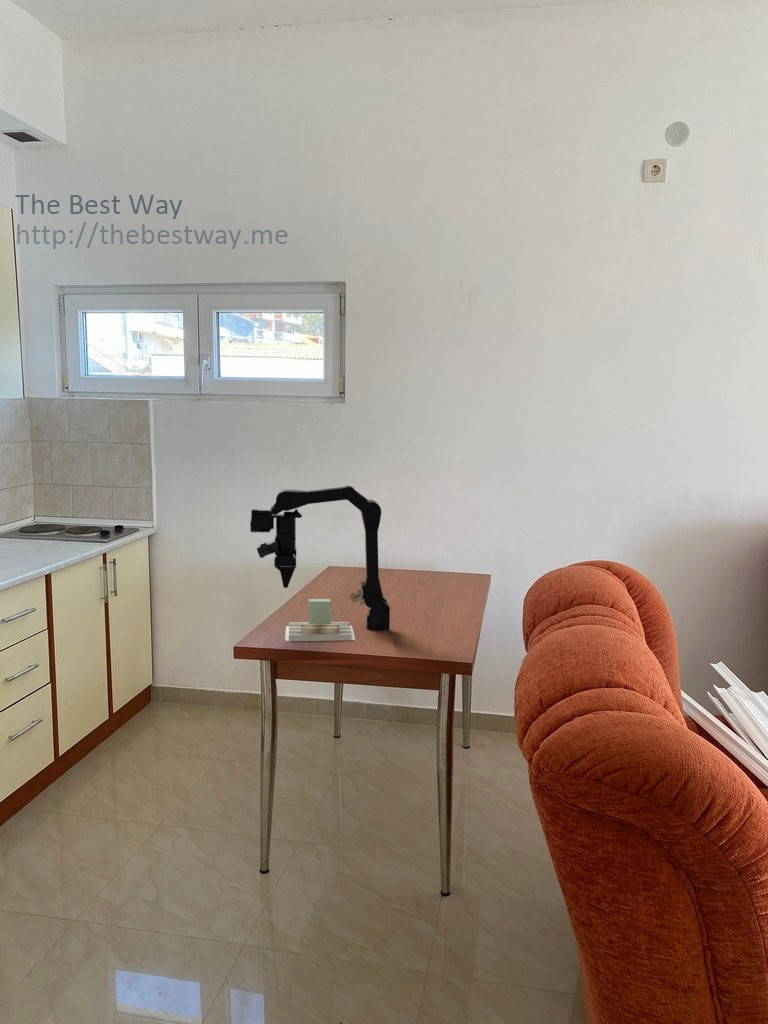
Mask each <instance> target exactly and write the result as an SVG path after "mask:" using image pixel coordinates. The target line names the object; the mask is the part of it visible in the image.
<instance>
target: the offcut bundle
mask: <svg viewBox="0 0 768 1024" xmlns="http://www.w3.org/2000/svg"><path fill="white" fill-rule="evenodd" d="M301 634H339V624H309V625H301Z"/></svg>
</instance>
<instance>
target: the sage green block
mask: <svg viewBox="0 0 768 1024" xmlns="http://www.w3.org/2000/svg"><path fill="white" fill-rule="evenodd" d="M331 603H332V601H331V598H313V599H312V598H308V622H309V624H331V622H332V620H331V613H332V612H331V611H332V610H331V609H332V604H331Z"/></svg>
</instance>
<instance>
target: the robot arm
mask: <svg viewBox="0 0 768 1024" xmlns="http://www.w3.org/2000/svg"><path fill="white" fill-rule="evenodd" d="M339 501H348V502H349V503H351V504H352V505H353V506H354V507H355V508H356V509H358V510H359V511H360V514H361V519H362V523H363V524H362V525H363V528H364V538H365V539H364V541H365V542H364V543H365V544H364V545H365V546H364V548H365V550H364V552H365V579H364V581H360V582H359V583H360V588H361V593H360V594H361V598H362V599H364V602H363V603H364V605H366V607H367V608H369V609H368V611H367V612H368V613H367V614H366V615H365V618H366V621H365V623H366V624H365V627H366V630H373V631H386V630H387V633H388V634H391V629H390V628H391V627H390V619H391V615H390V614H391V613H390V611H391V607H390V604H389V602H388V600H387V599H386V598H385V597H384V596H383V595H384V594H383V595H382V593H383V591H382V587H381V586H382V585H381V581H380V576H379V572H380V571H379V536H378V535H379V529H380V528H379V527H380V522H381V517H382V508H381V506H380V504H379V503H378V502H377V500H376V501H375V500H373V499H368V498H367V497H365V496H364V495H362V494H361V493H360V492H358V491H357V490H356V489H355V488H354V487H353V486H351V485H344V486H338V487H332V488H331V487H330V488H322V489H321V488H319V489H312V490H302V489H301V490H300V489H288V488H286V489H282V490H280V491H279V492H278V493H277V495H276V498H275V503H274V504H273V505H271V507H270V509H257V508H256V509H255V508H252V509H251V514H250V515H251V516H250V533H271V531H272V530H274V529H275V536H274V539H272V540H270V541H267V542H264V543H260V544H258V545H257V546H256V551H257V554H258V556H259V558H260V559H263V558H265V557H266V556H269V555H272V554H274V556H275V557H274V559H273V561H274V564H273V565H274V568H275V569H277V570H278V571H279V572H280V576H281V582H282V585H283V586H282V587H283V588H284V589H287V588H289V584H290V582H291V579H292V577H293V575H294V573H295V570H296V569H297V568H296V567H297V548H296V547H297V546H296V545H297V544H296V543H297V542H296V541H297V540H296V538H297V536H296V534H297V533H296V530H297V529H296V527H297V525H296V524H297V522H296V519H301V518H302V517H303V514H302V513H301V512H299V510H298V508H301V507H303V506H306V505H311V504H320V503H330V502H339ZM290 510H291V511H290ZM292 510H293V511H292ZM283 511H284V512H283ZM282 512H283V514H280V513H282ZM275 527H276V528H275Z"/></svg>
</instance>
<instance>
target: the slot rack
mask: <svg viewBox="0 0 768 1024" xmlns="http://www.w3.org/2000/svg"><path fill="white" fill-rule="evenodd" d="M331 624H339V634H301V625H309V621H308V622H307V621H306V622H305V621H304V622H303V621H302V622H301V621H300V622H297V621H296V622H295V621H293V622H288V625H286V626H285V635H284V636H285V637H284V638H285V639H284V640H285V641H284V642H306V641H307V642H312V641H313V642H317V641H320V642H321V641H323V642H324V641H325V642H327V641H333V642H334V641H356V637H355V633H354V628H353V625H350V622H349V621H331Z"/></svg>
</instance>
